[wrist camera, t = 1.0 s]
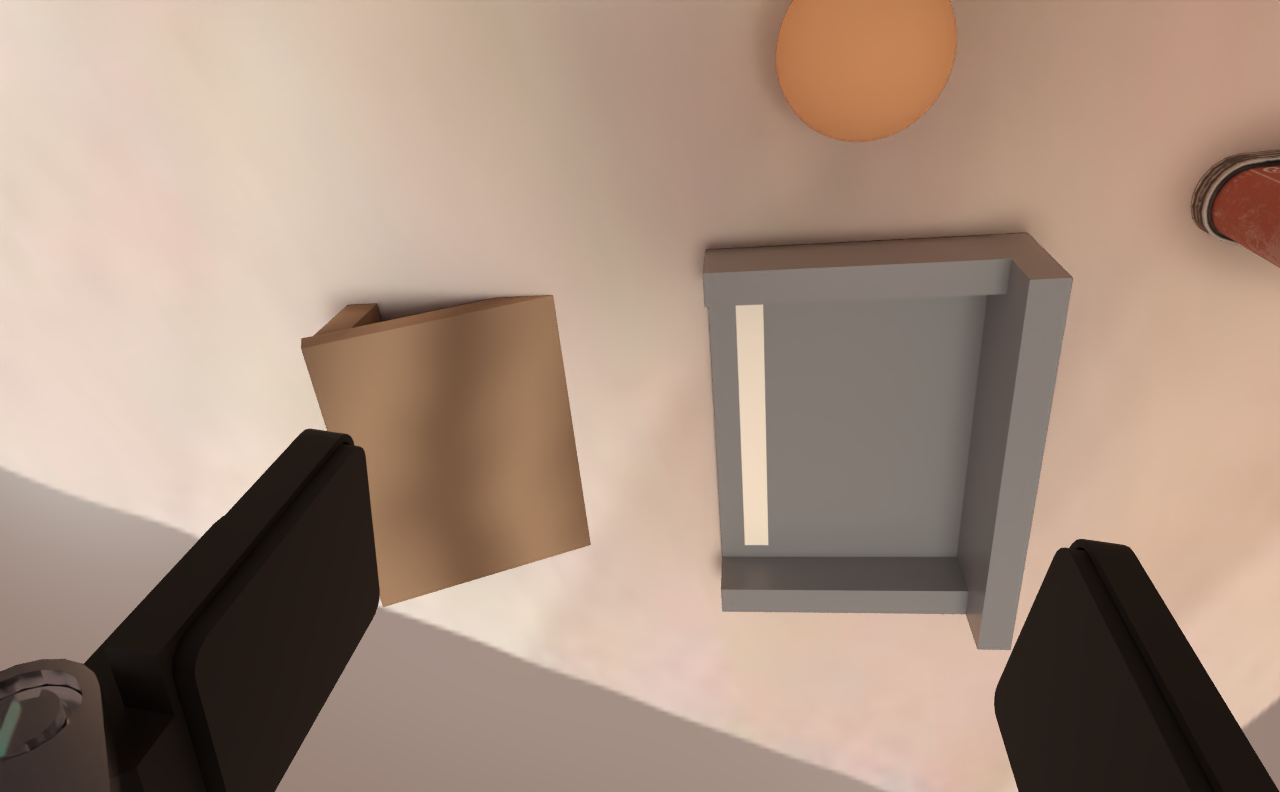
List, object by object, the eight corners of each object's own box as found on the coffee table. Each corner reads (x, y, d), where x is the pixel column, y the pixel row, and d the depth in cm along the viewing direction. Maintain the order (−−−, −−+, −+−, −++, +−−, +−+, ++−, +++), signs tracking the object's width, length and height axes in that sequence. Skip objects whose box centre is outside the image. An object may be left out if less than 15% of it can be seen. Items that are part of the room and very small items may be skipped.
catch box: (1027, 232, 28) (1072, 278, 24) (981, 572, 35) (1010, 649, 31) (705, 249, 29) (700, 294, 26) (723, 571, 36) (721, 644, 33)
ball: (942, -57, 24) (987, -58, 20) (929, 118, 26) (967, 152, 22) (772, -39, 25) (777, -37, 20) (774, 130, 27) (780, 164, 23)
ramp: (558, 286, 32) (528, 340, 27) (594, 532, 37) (574, 609, 33) (349, 296, 33) (289, 349, 29) (415, 532, 39) (373, 606, 34)
